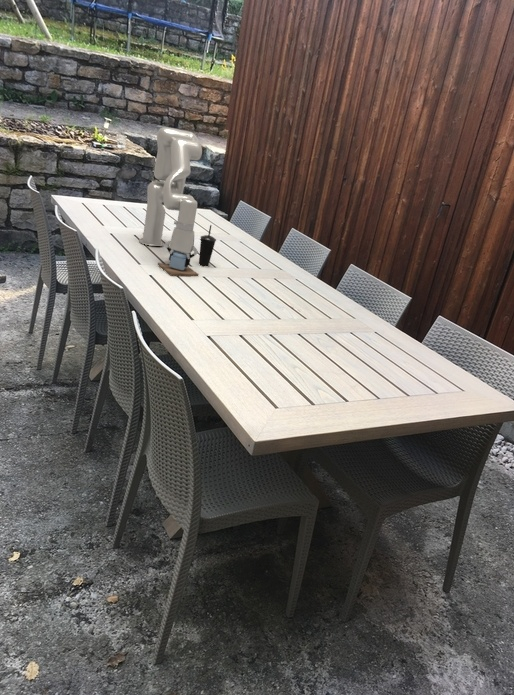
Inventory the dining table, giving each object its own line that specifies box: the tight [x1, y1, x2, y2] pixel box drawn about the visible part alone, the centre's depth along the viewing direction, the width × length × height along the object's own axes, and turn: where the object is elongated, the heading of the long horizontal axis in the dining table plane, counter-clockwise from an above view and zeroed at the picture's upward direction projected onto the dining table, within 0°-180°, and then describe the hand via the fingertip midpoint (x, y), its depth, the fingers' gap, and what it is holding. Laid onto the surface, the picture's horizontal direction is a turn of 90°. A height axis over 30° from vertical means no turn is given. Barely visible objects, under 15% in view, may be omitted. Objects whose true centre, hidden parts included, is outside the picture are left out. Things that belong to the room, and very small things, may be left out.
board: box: [157, 262, 199, 277], centre depth 269 cm, size 14×14×1 cm
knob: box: [169, 251, 189, 270], centre depth 267 cm, size 7×7×7 cm
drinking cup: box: [198, 224, 217, 267], centre depth 283 cm, size 8×8×20 cm
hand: (178, 264), depth 268 cm, fingers closed on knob, 6 cm apart
